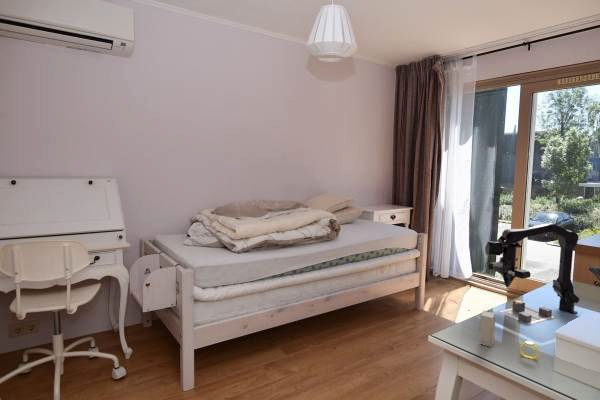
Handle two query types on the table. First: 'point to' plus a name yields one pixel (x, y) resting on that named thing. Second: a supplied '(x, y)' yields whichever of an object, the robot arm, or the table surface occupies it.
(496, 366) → the table surface
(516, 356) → the table surface
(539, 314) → the panel
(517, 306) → the block
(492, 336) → the skincare box
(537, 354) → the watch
